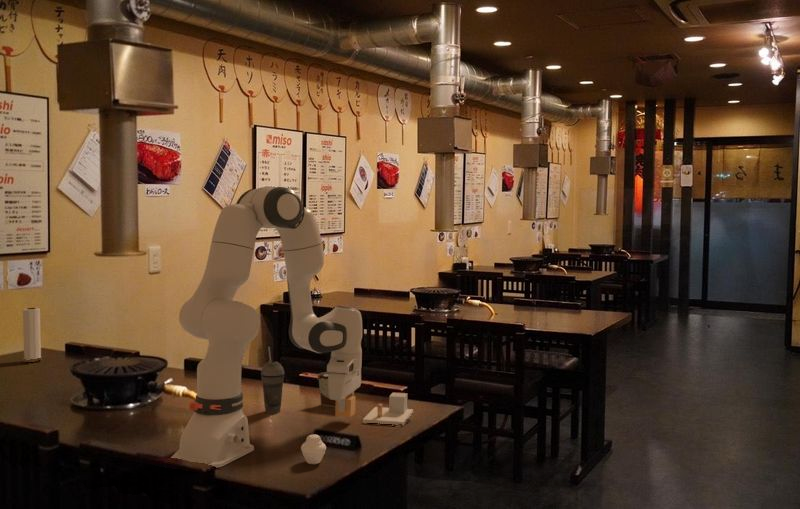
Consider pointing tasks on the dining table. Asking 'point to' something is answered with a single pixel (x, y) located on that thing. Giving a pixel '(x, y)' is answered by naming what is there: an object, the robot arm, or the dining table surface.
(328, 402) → the food container
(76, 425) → the dining table surface
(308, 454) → the muffin
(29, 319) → the paper towel roll
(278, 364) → the beverage cup
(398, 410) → the plate
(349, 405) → the orange cube
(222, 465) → the robot arm
